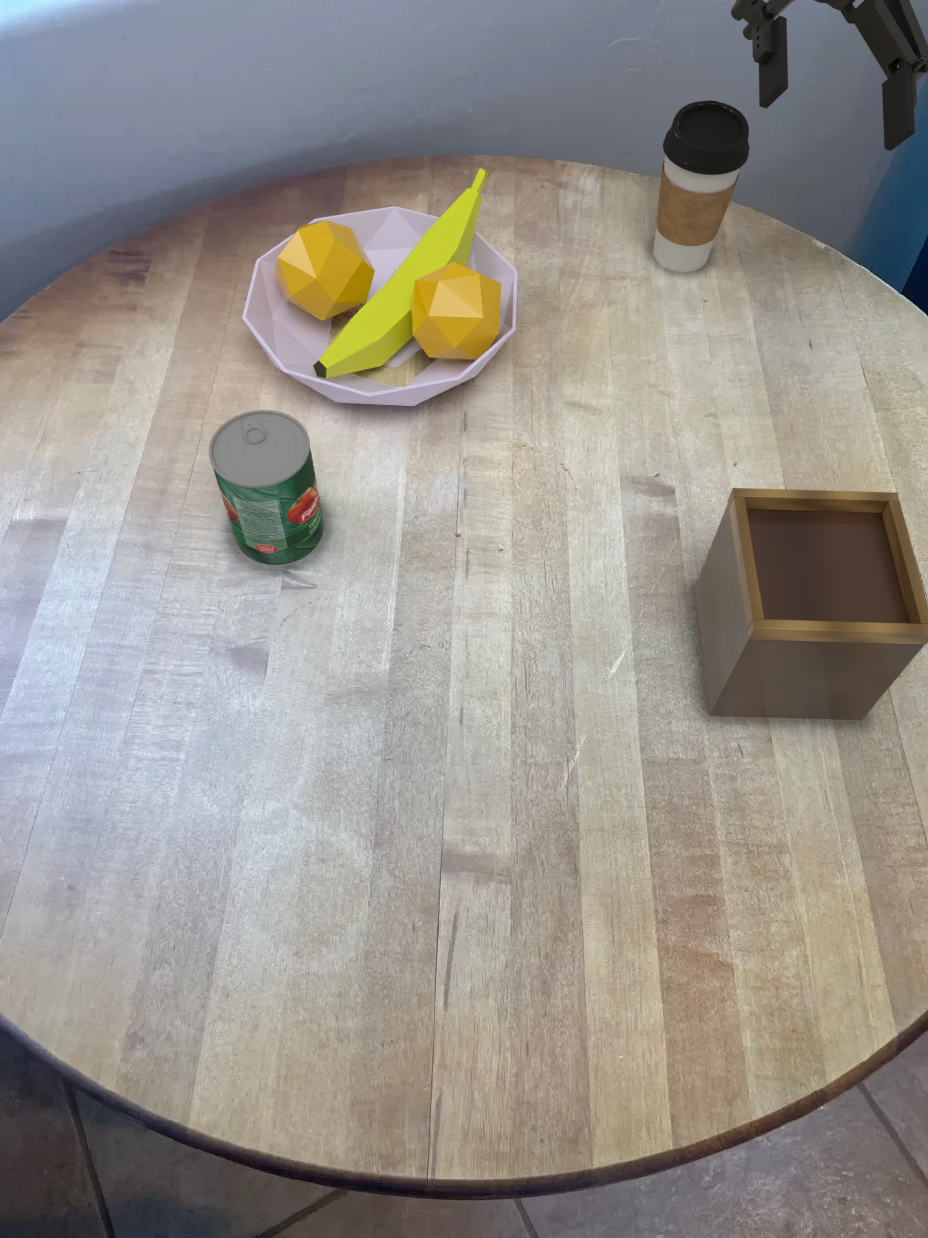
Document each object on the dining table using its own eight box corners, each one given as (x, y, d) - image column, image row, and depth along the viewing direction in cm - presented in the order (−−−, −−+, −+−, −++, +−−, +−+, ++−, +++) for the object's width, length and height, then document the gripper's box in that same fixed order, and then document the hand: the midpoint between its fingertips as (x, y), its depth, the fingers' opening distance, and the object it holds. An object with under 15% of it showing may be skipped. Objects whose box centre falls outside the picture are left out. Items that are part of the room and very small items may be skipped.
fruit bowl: (340, 480, 88) (327, 390, 78) (211, 309, 99) (186, 213, 90) (585, 363, 96) (600, 268, 86) (440, 218, 108) (439, 121, 98)
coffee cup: (720, 235, 107) (756, 103, 94) (717, 285, 102) (755, 153, 90) (644, 226, 108) (670, 93, 95) (638, 275, 103) (664, 143, 90)
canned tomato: (337, 551, 84) (323, 467, 74) (249, 579, 82) (223, 497, 72) (309, 485, 87) (292, 398, 78) (224, 511, 86) (197, 425, 76)
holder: (834, 593, 82) (897, 492, 70) (862, 722, 75) (936, 633, 64) (692, 589, 82) (732, 487, 70) (708, 717, 76) (754, 628, 64)
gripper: (905, -18, 94) (914, 180, 90) (688, -110, 85) (689, 106, 81) (971, -80, 87) (983, 132, 83) (742, -188, 78) (745, 45, 75)
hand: (838, 120), depth 82 cm, fingers open, 13 cm apart
